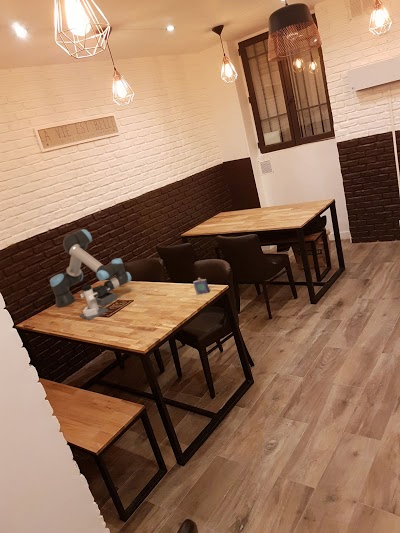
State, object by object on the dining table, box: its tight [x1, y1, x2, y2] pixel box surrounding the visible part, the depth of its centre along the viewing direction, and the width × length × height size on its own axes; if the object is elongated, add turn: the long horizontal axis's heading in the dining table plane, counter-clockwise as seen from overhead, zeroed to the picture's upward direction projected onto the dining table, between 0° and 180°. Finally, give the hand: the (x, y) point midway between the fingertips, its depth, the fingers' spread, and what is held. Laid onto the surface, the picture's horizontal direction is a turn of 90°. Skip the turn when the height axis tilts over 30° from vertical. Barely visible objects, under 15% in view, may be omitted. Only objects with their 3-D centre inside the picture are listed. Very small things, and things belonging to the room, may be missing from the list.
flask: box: [192, 277, 210, 295], centre depth 264 cm, size 9×3×11 cm, turn 76°
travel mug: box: [81, 282, 100, 311], centre depth 282 cm, size 6×7×20 cm
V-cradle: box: [79, 305, 109, 322], centre depth 283 cm, size 16×15×5 cm
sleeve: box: [95, 291, 118, 307], centre depth 302 cm, size 12×12×5 cm
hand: (84, 297), depth 279 cm, fingers open, 12 cm apart
